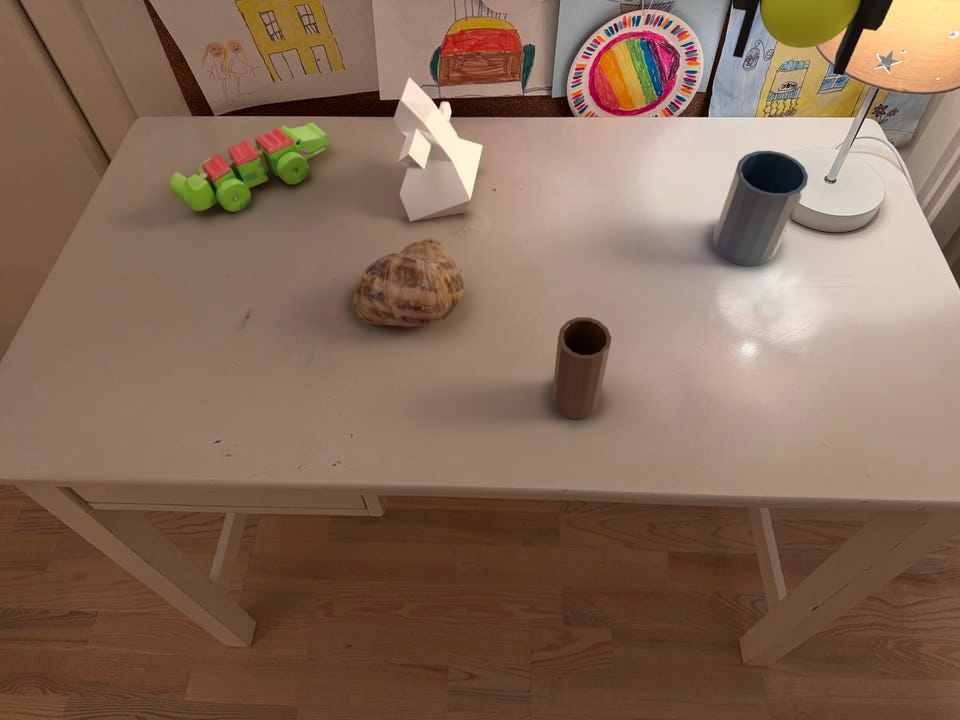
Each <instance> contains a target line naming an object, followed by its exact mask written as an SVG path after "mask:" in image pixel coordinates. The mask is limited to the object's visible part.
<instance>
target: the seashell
mask: <svg viewBox="0 0 960 720" xmlns="http://www.w3.org/2000/svg"><path fill="white" fill-rule="evenodd" d="M441 243H442V242H441V241H439V240H438V239H436V238H434V237H428V238H426V239H425V238H424V239H422V240H421V241H416V242H412V243H410V244H408V245H406V246H405V247H404V248H403V249H402V250H401V251H400V252H397V253H390V254H387V255H384V256H381V257H380V258H378V259H376V260H374V261H373V262H371V263H370V264H369V265H367V266H366V267H365V268H364V269H363V271H362V273H361V274H360V276H359V278H358V280H357V282H356V284H355V291H354V297H353V301H352V303H353V309H354V312H355V313H356V315H357V317H359V318H360V319H362V320H363V322H365V323H367V324H368V323H369V324H374V325H378V326H402V327H410V328H411V327H421V326H429V325H432V324H434V323H437V322H439V321H441V320H444V319H446V318H447V317H448V316H449V315H450V314H451V313H452V312H453V311H454V310H455V309H456V307H457V306H458V305H459V303H460V302H461V300H462V298H463V295H464V289H465V286H464V280H463V276H462V274H461V272H460V270H459V268H458V266H457V264H456V263H455V261H454V260H453V259H452V257H451V256H450V254H449V252H448V250H447V249H446V248H445V246H443V244H441Z"/></svg>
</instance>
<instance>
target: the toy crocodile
mask: <svg viewBox="0 0 960 720" xmlns="http://www.w3.org/2000/svg"><path fill="white" fill-rule="evenodd" d="M329 141H330V136H329V135H328V134H327V133H326V132H325V131H323V130H322V129H321V128H320V127H318V126H317V125H316V124H315V123H314V122H308V123H307V124H305V125H302V126H297V127H289V128H288V127H287V126H286V125H283V126H281V127H280V128H279V127H278V128H277V127H276V128H274V129H273V130H271V131H268V132H266V133H264V134H263V135H259V136H257V137H256V138H255V139H254V142H255V145H254V146H253V144H252V143H251V142H250V140H243V141H242V142H239V143H238V144H234V145H232V146H230V147H228V148H227V152H228V155H229V157H230V159H229V160H227V161H226V160H225V159H224V158H223V157H222V156H221V155H220V153H216V154H215V155H213V156H212V157H209V158H207V159H205V160H204V161H203V162H202V163H201V164H200V165H199V167H198V172H197V174H196V173H194V174H192V175H191V176H190V177H188V178H187V176H184V175H183V174H182V173H180V172H178V171H175V172H174V173H173V175H172V176H171V178H170V181H169V190H170V192H171V193H172V195H173V196H174V197H175V198H176V199H177V200H178V201H180V202H181V203H183V204H184V205H185V206H187V207H189V209H191V210H193V211H195V212H196V211H197V212H201V211H205V210H208V209H210V208H211V207H213V206H214V205H215V204H216V203H219V205H220V206H221V207H222V208H223V209H224V210H226V211H228V212H231V213H233V212H239V211H241V210H243V209H245V208H246V207H247V206H248V205H249V203H250V201H251V198H252V197H251V195H252V194H251V193H252V192H251V190H250V188H253V187H256V186H258V185H260V184H262V183H265V182H268V181H269V177H268V175H267V173H268V172H269V171H271V172H272V173H273V174H274V175H275V176H276V177H279V178H280V179H281V180H282V181H283V182H284V183H286V184H287V185H297V184H299V183H301V182H303V181H304V180H305V179H306V177H307V176H308V173H309V171H310V166H309V162H308V160H309V159H311V158H313V157H315V156H316V155H318V154H320V153H322V152H324V151H325V150H326V149H327V144H328V143H329Z"/></svg>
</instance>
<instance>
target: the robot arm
mask: <svg viewBox="0 0 960 720" xmlns="http://www.w3.org/2000/svg"><path fill="white" fill-rule="evenodd" d="M731 3H732V9H733V10H739V11H745V12H744V16H743V19H742V21H741V22H742V23H741V26H740V30H739V33H738V37H737V39H736V42H735V43H736V44H735V47H734V50H733V54H732V57H733V58H734V57H735V58H741V59H743V57H744V53H745V51H746V48H747V44H748V41H749V37H750V34H751V31H752V27H753V24H754V21H755V18H756V15H757V11H758V7H759V6H760V0H732V1H731ZM893 3H894V0H862V2H861V5H860V8H859V10H858V12H857V14H856V15H855V17H854V18H853V20H852V21H851V23H850V24H849V25H848V26H847V27H846V28H845V31H844V33H843V36H842V39H841V41H840V43H839V45H838V48H837V50H836V53H835V58H834V64H833V71H832V74H833V75H840V76H844V74H845V72H846V71H847V68H848V65H849V63H850V61H851V59H852V56H853V54H854V52H855V50H856V47H857V45H858V43H859V41H860V38H861V36H862V34H863V31H864V30H867V31H874V32H877V31H878V29H880V27H881V26H883V23H884V21H885V20H886V17H887V15H888V14H889V13H888V12H889V10H890V8H891V6H892V4H893Z"/></svg>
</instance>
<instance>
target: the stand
mask: <svg viewBox="0 0 960 720" xmlns="http://www.w3.org/2000/svg"><path fill="white" fill-rule="evenodd" d="M611 343H612V336H611V332H610V330H609V327H607V326H606V325H604V323H603V322H601V321H600V320H597V319H595V318H592V317H589V316H588V317H587V316H583V317H582V316H580V317H579V316H578V317H575V318H572V319H569V320H567V321H566V322H565V323H564V324H563V325H562V326H561V327H560V328H559V332H558V337H557V345H556V355H555V363H554V371H553V372H554V373H553V383H552V391H551V395H552V396H551V402H552V405H553V406H554V408H555V410H556V411H557V412H558V414H560V415H561V416H564V417H565V418H568V419H571V420H582V419H585V418H587V417H590V416H591V415H592V414H593V413H595V411H596V409H597V407H598V404H599V400H600V397H601V392H602V387H603V382H604V378H605V373H606V367H607V363H608V358H609V355H610V354H609V353H610V349H611Z"/></svg>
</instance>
